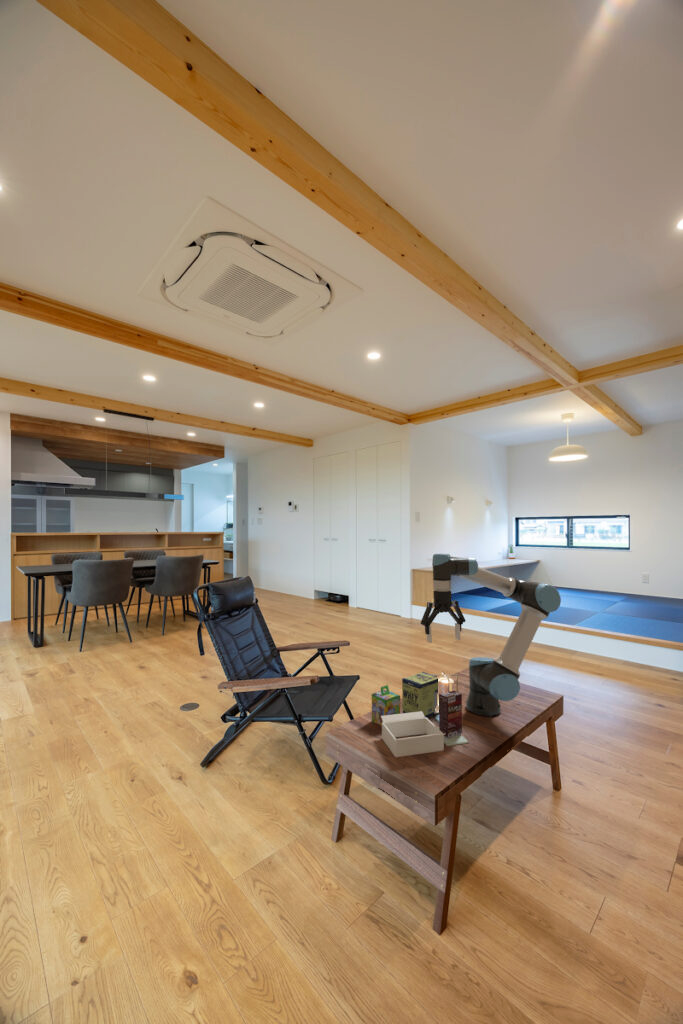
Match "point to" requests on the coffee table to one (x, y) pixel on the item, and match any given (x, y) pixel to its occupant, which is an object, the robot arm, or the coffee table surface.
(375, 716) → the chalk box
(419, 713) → the carton
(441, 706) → the supplement box
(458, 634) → the robot arm
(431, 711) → the protein box
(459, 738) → the felt pad
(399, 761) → the coffee table surface
